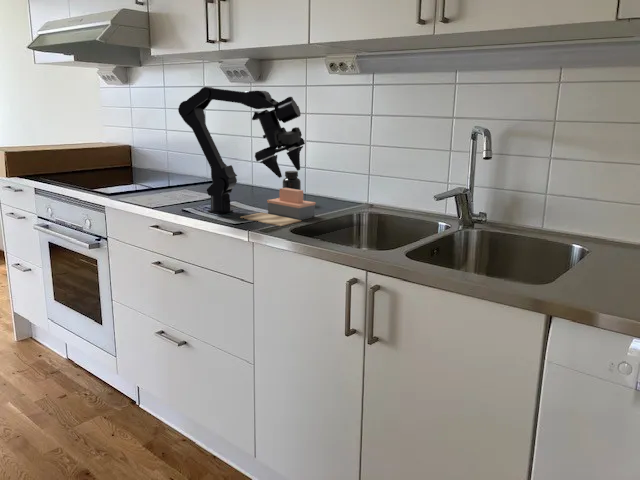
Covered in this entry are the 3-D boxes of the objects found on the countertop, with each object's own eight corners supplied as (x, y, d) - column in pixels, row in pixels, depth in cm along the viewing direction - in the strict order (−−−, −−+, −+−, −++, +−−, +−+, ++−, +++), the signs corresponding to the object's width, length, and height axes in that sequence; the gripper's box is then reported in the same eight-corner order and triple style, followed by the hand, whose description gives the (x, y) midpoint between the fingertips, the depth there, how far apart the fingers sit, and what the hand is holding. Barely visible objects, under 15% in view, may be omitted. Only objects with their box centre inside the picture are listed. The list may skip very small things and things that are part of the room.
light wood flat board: (240, 217, 182) (240, 216, 182) (261, 213, 190) (261, 212, 189) (280, 226, 171) (280, 225, 171) (301, 221, 179) (301, 220, 179)
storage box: (268, 213, 189) (268, 202, 188) (283, 210, 195) (283, 199, 194) (298, 220, 181) (299, 208, 180) (314, 216, 187) (314, 204, 186)
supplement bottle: (290, 200, 214) (291, 169, 212) (304, 203, 210) (304, 171, 207) (278, 203, 209) (278, 171, 206) (292, 205, 205) (292, 173, 202)
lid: (267, 205, 188) (267, 188, 187) (283, 202, 195) (283, 185, 193) (299, 211, 180) (299, 193, 178) (315, 207, 186) (315, 190, 185)
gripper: (268, 126, 167) (287, 174, 169) (307, 114, 180) (324, 160, 182) (245, 137, 174) (264, 183, 176) (284, 126, 188) (301, 169, 190)
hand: (289, 173), depth 181 cm, fingers open, 9 cm apart
